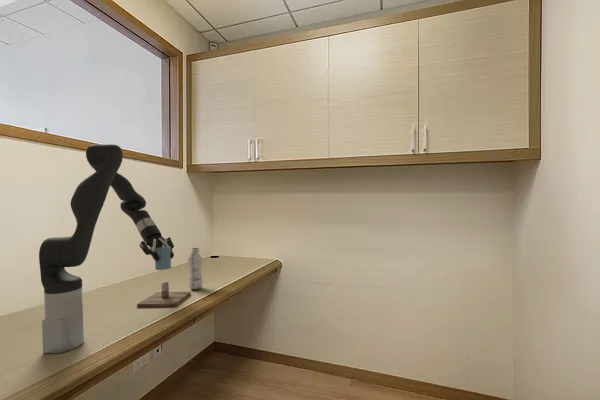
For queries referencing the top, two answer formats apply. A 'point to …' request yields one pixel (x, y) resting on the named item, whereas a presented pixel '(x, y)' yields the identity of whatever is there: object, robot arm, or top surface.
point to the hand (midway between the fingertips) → (165, 258)
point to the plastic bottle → (195, 269)
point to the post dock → (164, 298)
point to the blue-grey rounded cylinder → (163, 258)
